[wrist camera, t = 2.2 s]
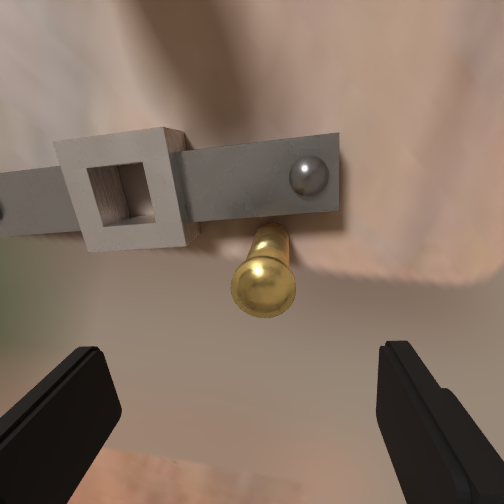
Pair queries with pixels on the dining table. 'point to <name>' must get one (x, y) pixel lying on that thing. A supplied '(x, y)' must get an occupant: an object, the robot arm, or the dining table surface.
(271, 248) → the link pin
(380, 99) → the dining table surface
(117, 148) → the studded connector plate
